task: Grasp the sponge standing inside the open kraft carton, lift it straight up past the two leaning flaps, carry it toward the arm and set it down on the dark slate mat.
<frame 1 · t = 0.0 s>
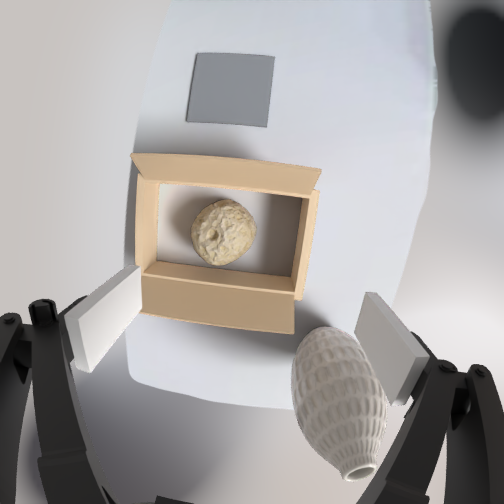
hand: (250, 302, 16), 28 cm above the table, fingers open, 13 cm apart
mat: (231, 87, 37), on the table
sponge: (225, 228, 43), on the table
carton: (225, 228, 43), on the table
vase: (320, 340, 48), on the table
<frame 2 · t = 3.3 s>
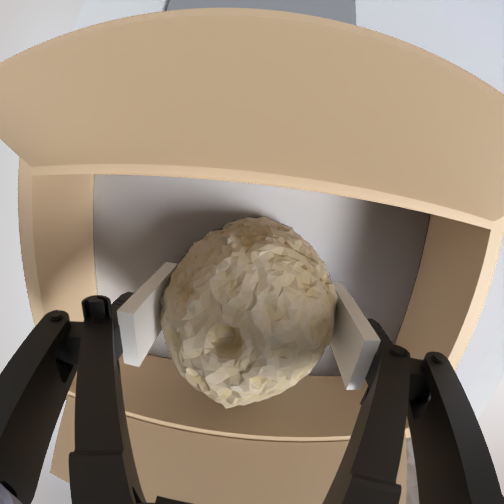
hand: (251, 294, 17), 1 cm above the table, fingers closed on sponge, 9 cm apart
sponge: (251, 287, 18), on the table, touching gripper
carton: (252, 289, 17), on the table
vase: (399, 445, 22), on the table
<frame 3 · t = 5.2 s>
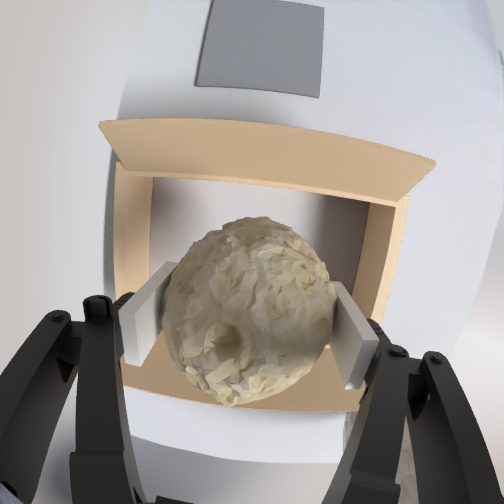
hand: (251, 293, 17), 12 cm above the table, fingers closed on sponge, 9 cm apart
mat: (263, 40, 23), on the table
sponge: (251, 287, 18), point 11 cm above the table, touching gripper
carton: (254, 249, 28), on the table
vase: (372, 390, 33), on the table
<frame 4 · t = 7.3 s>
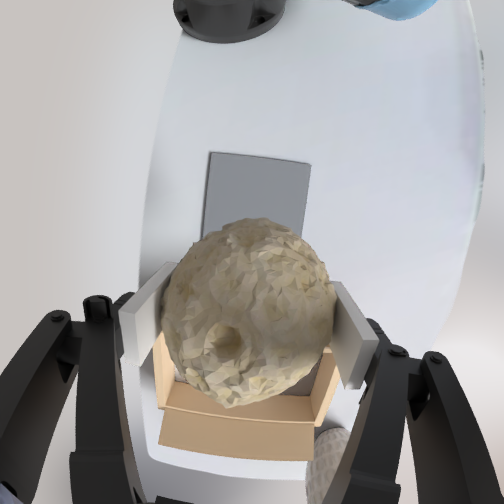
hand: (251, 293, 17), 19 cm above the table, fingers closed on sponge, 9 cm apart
mat: (255, 206, 34), on the table
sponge: (251, 287, 18), point 18 cm above the table, touching gripper
carton: (247, 360, 39), on the table
vase: (332, 435, 44), on the table
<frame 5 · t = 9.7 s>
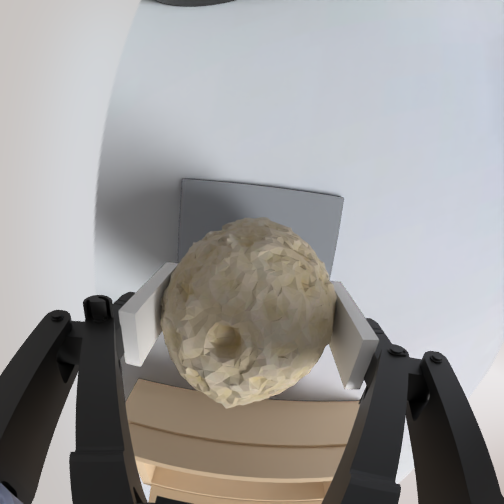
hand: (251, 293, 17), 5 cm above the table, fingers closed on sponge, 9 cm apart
mat: (254, 264, 22), on the table
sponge: (251, 287, 18), point 5 cm above the table, touching gripper
carton: (245, 438, 28), on the table
when the fingers open (1 cm above the table, at t = 11.4 s): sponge stays where it is, resting on mat.
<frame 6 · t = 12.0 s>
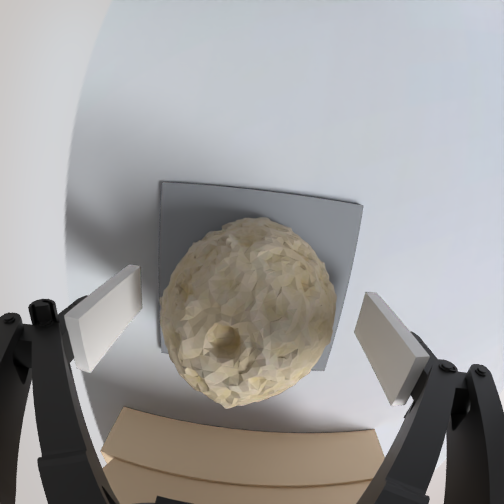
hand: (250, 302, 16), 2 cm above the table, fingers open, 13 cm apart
mat: (252, 286, 18), on the table
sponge: (251, 287, 18), resting on mat
carton: (243, 468, 24), on the table
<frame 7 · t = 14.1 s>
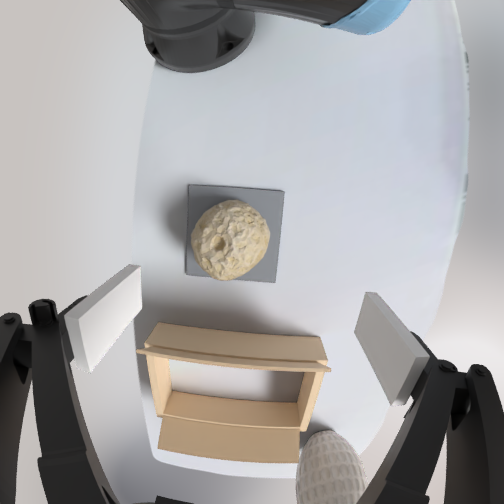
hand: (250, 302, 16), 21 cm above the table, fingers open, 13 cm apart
mat: (233, 234, 36), on the table
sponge: (232, 234, 36), resting on mat
carton: (235, 371, 42), on the table
vase: (322, 437, 47), on the table
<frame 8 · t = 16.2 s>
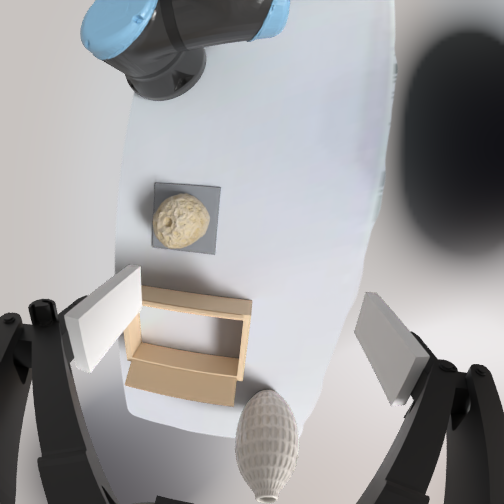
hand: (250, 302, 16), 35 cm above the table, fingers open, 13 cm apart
mat: (184, 218, 50), on the table
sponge: (184, 218, 49), resting on mat
carton: (188, 326, 55), on the table
vase: (266, 397, 60), on the table
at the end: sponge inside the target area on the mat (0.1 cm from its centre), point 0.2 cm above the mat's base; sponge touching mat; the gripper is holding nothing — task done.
